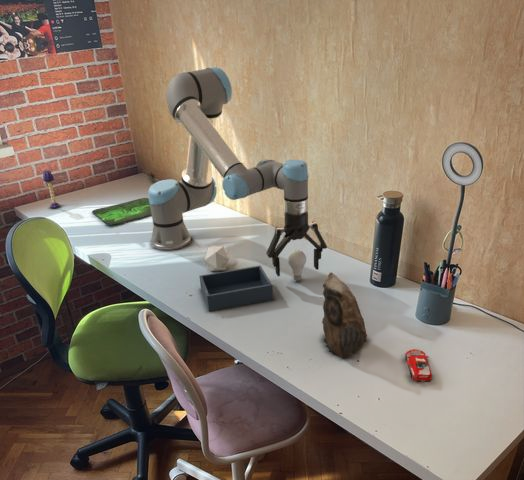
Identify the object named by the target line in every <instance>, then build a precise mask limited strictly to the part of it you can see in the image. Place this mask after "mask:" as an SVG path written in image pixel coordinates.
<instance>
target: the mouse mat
mask: <svg viewBox="0 0 524 480" xmlns="http://www.w3.org/2000/svg"><path fill="white" fill-rule="evenodd" d="M91 214H92V215H94V216H95V217H96V218H98V219H99V220H100V221H101V222H102V223H104V224H105V225H106V226H116V225H119V224H123V223H128V222H131V221H134V220H135V221H136V220H139V219H142V218H145V217H146V218H147V217H150V216H152V214H151V208H150V203H149V197H148V198H147V197H142V198H137V199H133V200H130V201H126V202H121V203H118V204H113V205H110V206H106V207H105V206H104V207H100V208H96V209H93V210H92V211H91Z"/></svg>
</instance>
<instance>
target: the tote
mask: <svg viewBox="0 0 524 480" xmlns="http://www.w3.org/2000/svg"><path fill="white" fill-rule="evenodd" d="M198 277H199V284H200V292H201V294H202V296H203V299H204V301H205V304H206V307H207V310H208V312H215V311H218V310H224V309H225V310H226V309H230V308H235V307H241V306H246V305H253V304H258V303H263V302H268V301H273V300H274V293H273V284H272V281H271V280H270V278H269V277H268V276H267V273H266V272H265V270H264V269H263V267H262V266H261V265H255V266H248V267H243V268H237V269H231V270H230V269H229V270H225V271H217V272H214V273H206V274H202V275H199V276H198Z"/></svg>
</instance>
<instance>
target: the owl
mask: <svg viewBox="0 0 524 480" xmlns="http://www.w3.org/2000/svg"><path fill="white" fill-rule="evenodd" d="M322 287H323V291H322V295H323V298H324V300H323V305H322V310H323V317H322V320H321V323H322V330H323V333H324V338H323V343H325V344H326V345H325V347H326V348H328V352H329V353H331V354H332V355H334V356H337V357H339V358H341V359H347V358H349V357H350V356H351V355H352V354H355V352H356V351H357V350H359V349H360V348H362V347H363V346H364V345H365V344H366V343H367V342H368V340H367V339H368V334H367V329H366V324H365V320H364V318H363V315H362V313H361V309H360V306H359V303H358V301H357V299H356V296H355V295H354V293H353V292H352V290H351V289H350V287H348V286H347V284H346V283H345V282H343V281H342V280H341V279H340V278H339V277H338V276H337V275H336V274H334V273H333V271H332V272H329V273H328V275H327V278H326V280H325V281H324V282H323V283H322Z"/></svg>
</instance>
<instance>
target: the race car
mask: <svg viewBox="0 0 524 480" xmlns="http://www.w3.org/2000/svg"><path fill="white" fill-rule="evenodd" d="M404 355H405V356H404V357H405V358H404V360H405V362H406V365H407V369H408V371H409V375H410V379H411V380H412V382H414V383H421V384H424V383H425V384H426V383H427V384H428V383H431V381H432V380H433V372H432V369H431V366H430V363H429V361H428V358H429V356H428V355H427V354H426V353H425V351H423V350H421V349H417V348H413V349H409V350H408V351H406V352H405V354H404Z"/></svg>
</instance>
